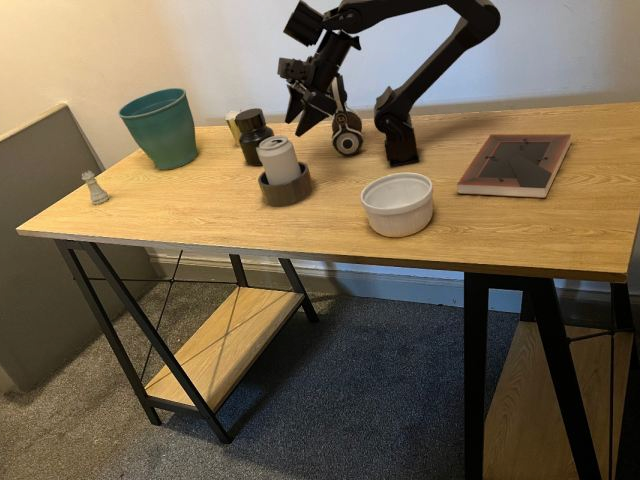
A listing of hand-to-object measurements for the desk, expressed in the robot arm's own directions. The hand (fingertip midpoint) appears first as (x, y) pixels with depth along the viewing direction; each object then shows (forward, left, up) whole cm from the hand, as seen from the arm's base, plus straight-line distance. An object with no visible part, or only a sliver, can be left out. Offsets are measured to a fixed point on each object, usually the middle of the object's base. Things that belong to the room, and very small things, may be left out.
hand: (291, 129), depth 121 cm
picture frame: (-44, +9, -14) cm, 47 cm away
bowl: (+4, +2, -14) cm, 14 cm away
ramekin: (-21, +22, -14) cm, 33 cm away
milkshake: (+22, -33, -14) cm, 42 cm away
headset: (-9, -17, -14) cm, 24 cm away
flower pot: (+41, -30, -14) cm, 53 cm away
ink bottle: (+14, -20, -14) cm, 28 cm away
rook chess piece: (+57, -13, -14) cm, 60 cm away
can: (+4, +2, -13) cm, 14 cm away
